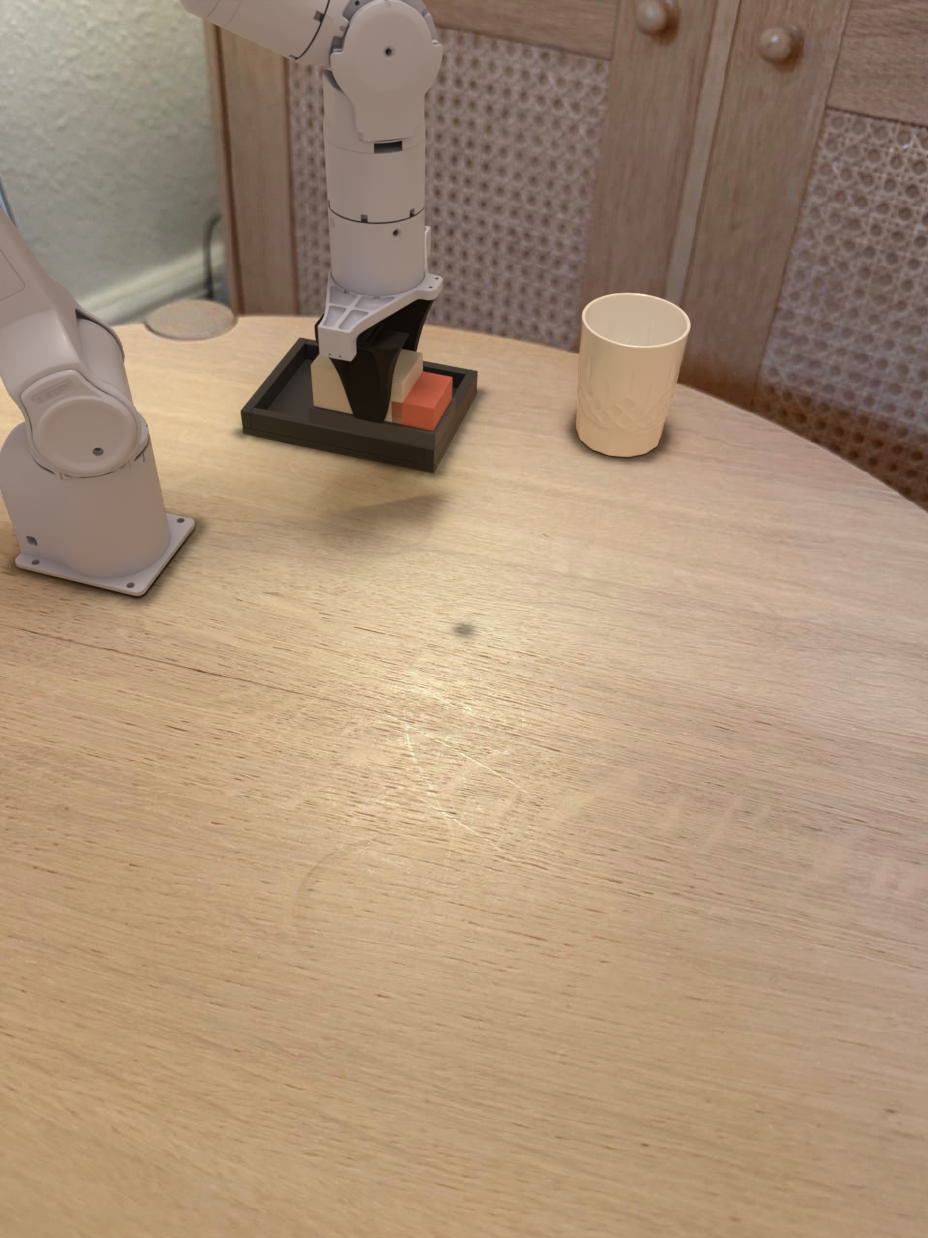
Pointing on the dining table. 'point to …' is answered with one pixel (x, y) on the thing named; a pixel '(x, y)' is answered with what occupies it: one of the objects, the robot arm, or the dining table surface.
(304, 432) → the black rectangular tray
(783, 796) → the dining table surface
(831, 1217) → the dining table surface
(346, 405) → the blocks on dark base
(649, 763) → the dining table surface
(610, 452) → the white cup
